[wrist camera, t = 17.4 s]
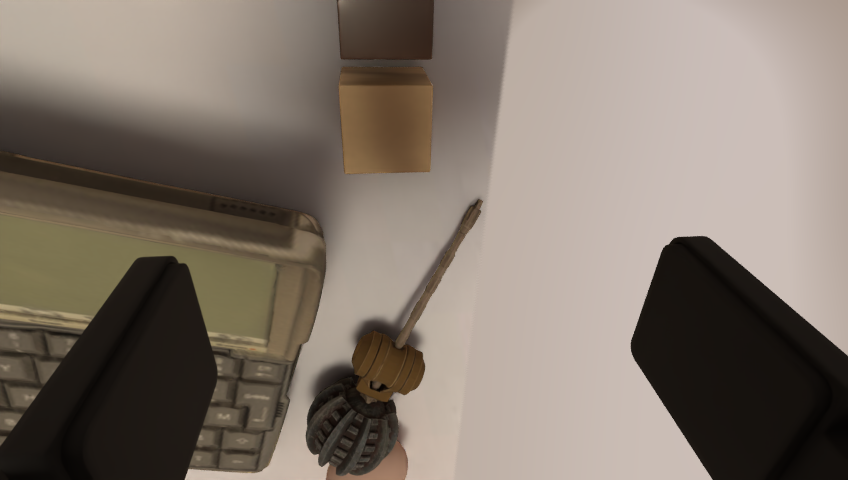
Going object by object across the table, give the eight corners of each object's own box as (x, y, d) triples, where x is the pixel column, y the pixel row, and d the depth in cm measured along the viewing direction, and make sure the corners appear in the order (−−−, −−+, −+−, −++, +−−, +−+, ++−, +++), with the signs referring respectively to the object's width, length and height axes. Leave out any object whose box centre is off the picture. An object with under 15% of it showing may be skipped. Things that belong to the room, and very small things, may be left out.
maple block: (346, 145, 25) (344, 174, 22) (341, 66, 23) (338, 85, 20) (421, 144, 26) (430, 172, 22) (422, 66, 24) (433, 85, 20)
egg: (334, 447, 40) (397, 408, 38) (366, 505, 39) (432, 468, 37) (298, 476, 35) (368, 434, 33) (334, 543, 34) (408, 504, 32)
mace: (420, 165, 30) (315, 411, 36) (399, 173, 25) (277, 465, 30) (509, 206, 30) (389, 449, 35) (508, 224, 24) (365, 511, 30)
